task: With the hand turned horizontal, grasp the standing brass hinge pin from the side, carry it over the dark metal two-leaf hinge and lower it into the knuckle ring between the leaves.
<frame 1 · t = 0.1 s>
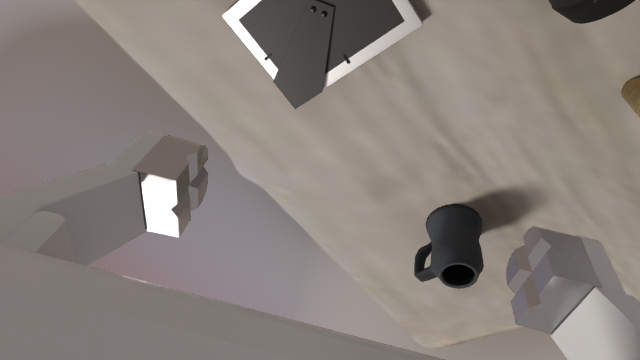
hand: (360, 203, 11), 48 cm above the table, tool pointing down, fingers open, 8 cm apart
picture frame: (322, 14, 56), on the table
pin: (637, 88, 54), on the table
mug: (446, 227, 73), on the table
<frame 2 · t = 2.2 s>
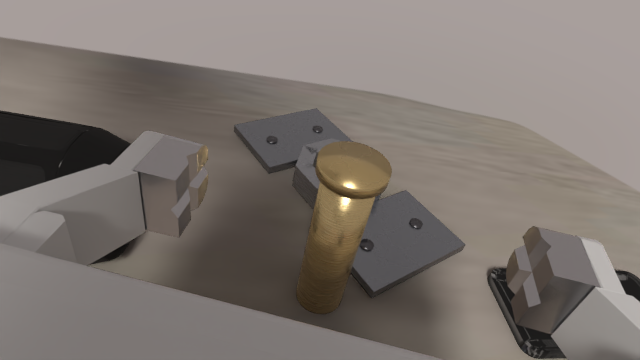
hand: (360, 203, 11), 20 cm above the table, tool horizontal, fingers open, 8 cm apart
pin: (318, 293, 33), on the table
hinge body: (337, 184, 43), on the table
phone: (579, 316, 36), on the table
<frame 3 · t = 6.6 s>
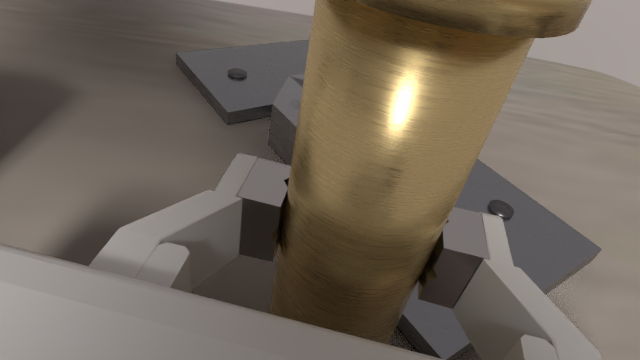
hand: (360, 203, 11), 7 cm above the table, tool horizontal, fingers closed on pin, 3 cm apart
hinge body: (348, 144, 25), on the table
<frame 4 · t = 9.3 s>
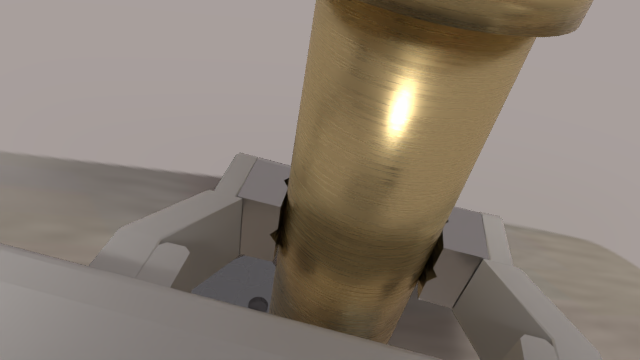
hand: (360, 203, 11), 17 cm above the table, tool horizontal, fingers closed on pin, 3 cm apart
when the fingers open (8 cm above the table, at t = 11.6 s): pin drops 1 cm, resting in hinge body.
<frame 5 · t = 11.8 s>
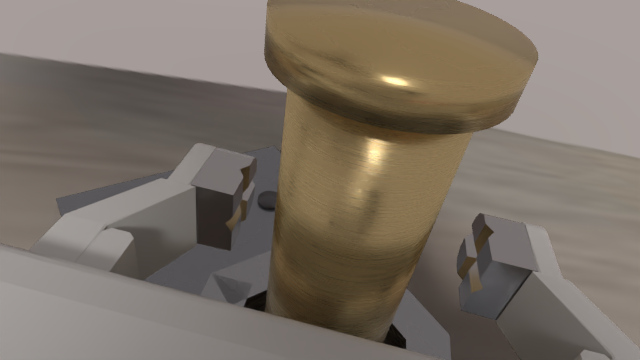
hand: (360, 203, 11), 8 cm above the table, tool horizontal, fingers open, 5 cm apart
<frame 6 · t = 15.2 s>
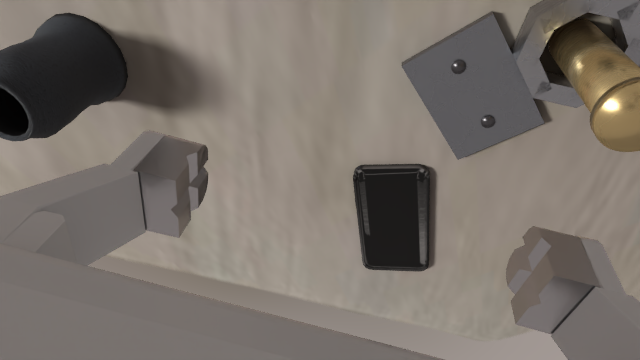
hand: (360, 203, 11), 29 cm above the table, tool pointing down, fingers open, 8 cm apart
pin: (573, 41, 34), resting in hinge body
hinge body: (572, 41, 34), on the table
mug: (72, 58, 43), on the table
phone: (392, 216, 49), on the table
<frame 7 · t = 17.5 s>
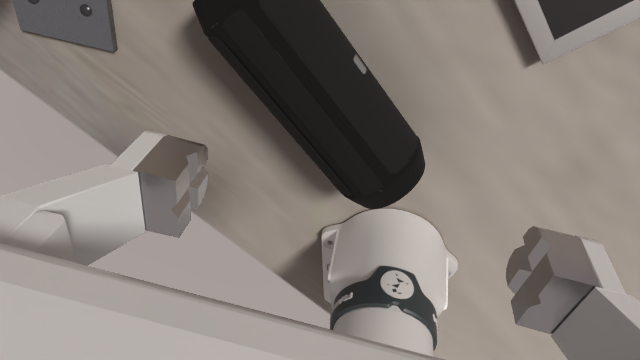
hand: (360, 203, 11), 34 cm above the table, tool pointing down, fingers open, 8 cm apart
portable speaker: (328, 68, 45), on the table
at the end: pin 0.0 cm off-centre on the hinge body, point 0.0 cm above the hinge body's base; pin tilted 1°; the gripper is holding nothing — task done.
